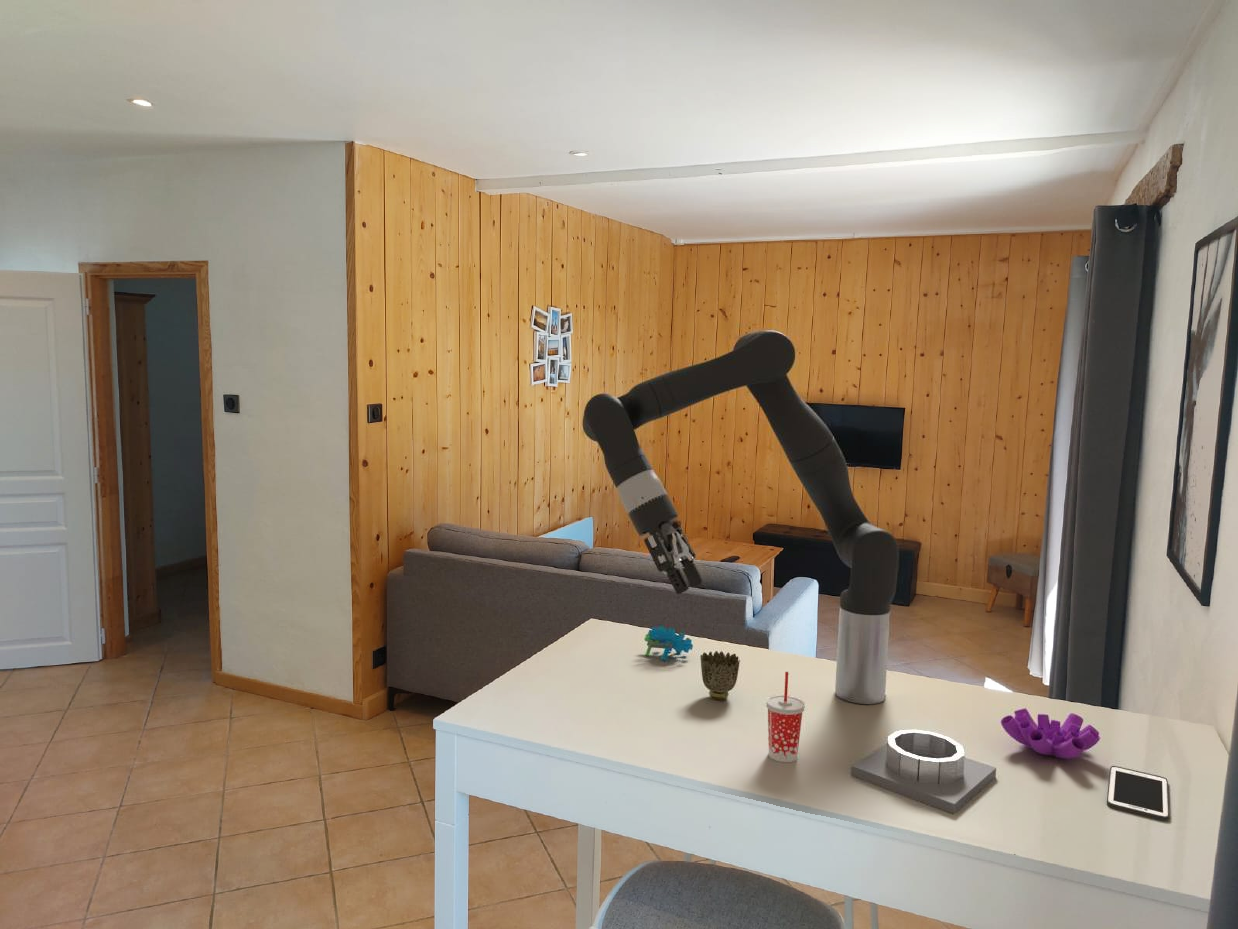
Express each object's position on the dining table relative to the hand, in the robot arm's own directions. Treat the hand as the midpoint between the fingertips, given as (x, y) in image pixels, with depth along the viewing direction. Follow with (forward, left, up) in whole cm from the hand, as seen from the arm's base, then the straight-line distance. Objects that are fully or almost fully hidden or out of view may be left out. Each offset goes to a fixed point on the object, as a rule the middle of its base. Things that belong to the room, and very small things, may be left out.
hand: (691, 588), depth 141 cm
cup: (-17, -6, -26) cm, 32 cm away
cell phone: (-34, +60, -26) cm, 73 cm away
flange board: (-15, +35, -26) cm, 46 cm away
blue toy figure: (-28, -28, -26) cm, 48 cm away
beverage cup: (-5, +16, -26) cm, 31 cm away
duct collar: (-15, +35, -24) cm, 45 cm away
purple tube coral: (-38, +46, -26) cm, 65 cm away
